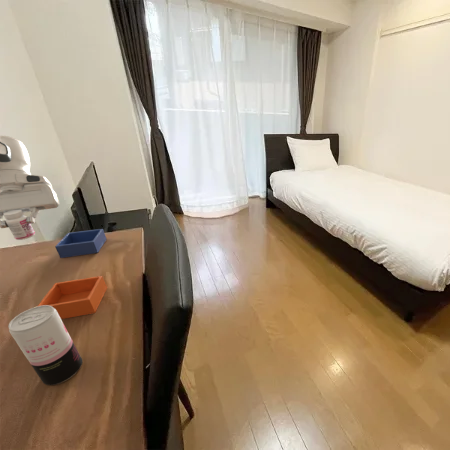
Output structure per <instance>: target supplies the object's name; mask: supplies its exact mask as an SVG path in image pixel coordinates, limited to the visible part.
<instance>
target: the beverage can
mask: <svg viewBox="0 0 450 450" xmlns="http://www.w3.org/2000/svg"><path fill="white" fill-rule="evenodd" d="M8 333H9V334H10V335H11V337H12V338H13V340H14V342H15V343H16V345H17V346H18V347H19V349H20V350H21V352H22V353H23V355H24V357H25V358H26V359H27V361H28V362H29V364H30V366H31V367H32V368H33V370H34V371H35V373H36V374H37V376H38V378H39V379H40V381H41V382H42V383H43V384H44V385H45V386H55V385H60V384H62V383H64V382H67V381H68V380H70V379H71V378H73V377H74V376H75V375H76V374H77V373H78V371H80V369H81V367H82V365H83V358H82V356H81V354H80V352H79V350H78V349H77V347H76V344H75V343H74V341H73V338H72V337H71V335H70V333H69V332H68V330H67V327H66V326H65V324H64V322H63V319H61V318H60V316H59V314H58V312H57V311H56V309H54V308H53V307H52V306H49V305H43V306H38V305H37V306H35V307H31V308H28V309H26V310H24V311H22V312H20V313H19V314H17V315H16V316H15V317H14V318H12V319H11V320H10V321H9V323H8Z"/></svg>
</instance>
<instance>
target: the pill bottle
mask: <svg viewBox="0 0 450 450" xmlns="http://www.w3.org/2000/svg"><path fill="white" fill-rule="evenodd" d="M26 217H27V215H24V212H22V210H12V211H8V212H6V213H4V214H3V218H4V219H5V221H6V224H7V225H8V227H7V228H8V229H9V230H10V232H11V233H12V236H13V238H14V239H15V240H17V241H23V240H27V239H30V238H32V237H34V236H35V235H36V231H35V229H34V228H33V226H32V224H28V223H27V222H26V220H27V219H26Z"/></svg>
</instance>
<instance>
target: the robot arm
mask: <svg viewBox="0 0 450 450" xmlns="http://www.w3.org/2000/svg"><path fill="white" fill-rule="evenodd" d="M31 168H32V165H31V159H30V154H29V151H28V149H27V147H26V146H25V144H24V143H23V142H22V141H21V140H19V139H17V138H15V137H12V136H8V135H0V228H1V229H7V228H9V227H8V225H7V224H6V219H5V220H3V218H4V215H3V214H4V213H6V212H8V211H12V210H22V212H23V213H30V212H31V213H30V215H29V216H26V219H27V220H26V222H27V223H28V224H31V225H32V224H36V218H37V217H38V216H39V214H40V211H44V210H50V209H56V208H58V207H59V206H60V200H59V197H58V194H57V192H56V191H55V190H54V187H53V185H52V183H51V181H50V180H48V178H46V177H45V176H44V175H36V174H32V173H31V171H30V170H31Z"/></svg>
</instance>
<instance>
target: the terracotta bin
mask: <svg viewBox="0 0 450 450" xmlns="http://www.w3.org/2000/svg"><path fill="white" fill-rule="evenodd" d="M107 290H108V287H107V284H106V282H105V278H104V276H103V275H99V276H97V275H96V276H92V277H85V278H78V279H72V280H65V281H60V282H59V281H58V282H55V283H54V284H53V285H52V287H50V289H49V291H48V292H46V294H45V295H44V297H43V298H42V299H41V301H40V302H39V304H37V306H43V305H49V306H52V307H53V308H54V309H56V311H57V312H58V314H59V316H60V318H61V320H65V319H70V318H75V317H80V316H85V315H91V314H92V315H93V314H96V312H97V311H98V308H99V306H100V304H101V302H102V300H103V298H104V296H105V294H106V292H107Z"/></svg>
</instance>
